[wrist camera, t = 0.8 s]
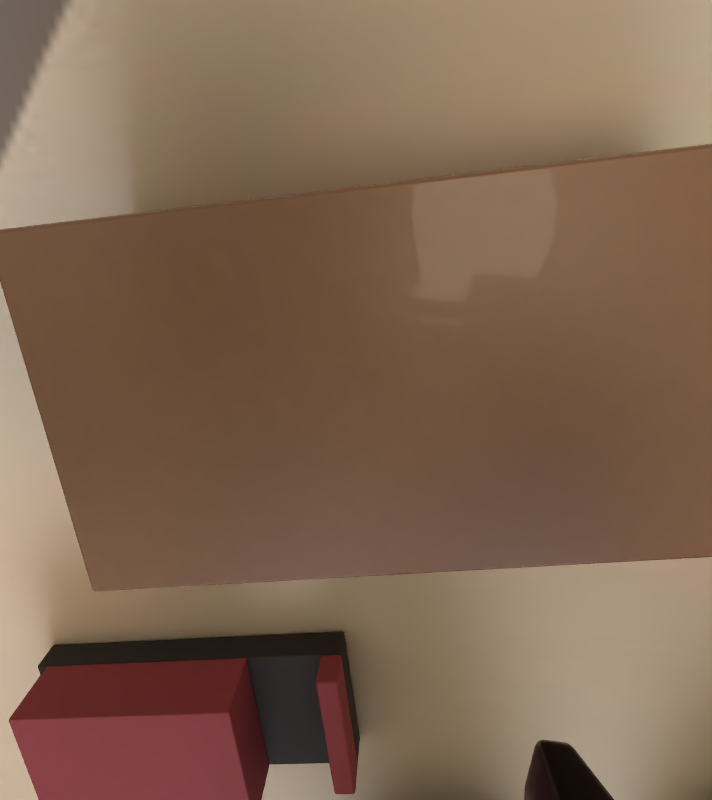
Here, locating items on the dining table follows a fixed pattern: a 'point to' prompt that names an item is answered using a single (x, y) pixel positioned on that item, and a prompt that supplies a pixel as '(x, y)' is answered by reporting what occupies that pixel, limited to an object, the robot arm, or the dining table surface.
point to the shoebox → (381, 374)
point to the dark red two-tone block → (187, 717)
